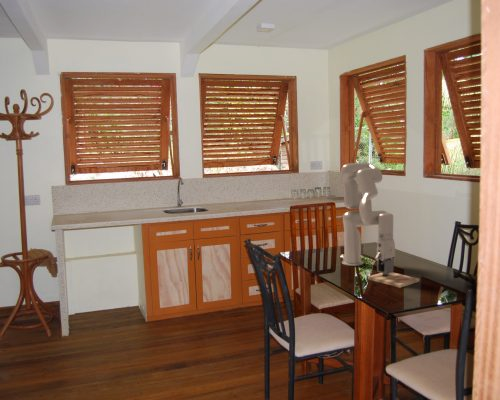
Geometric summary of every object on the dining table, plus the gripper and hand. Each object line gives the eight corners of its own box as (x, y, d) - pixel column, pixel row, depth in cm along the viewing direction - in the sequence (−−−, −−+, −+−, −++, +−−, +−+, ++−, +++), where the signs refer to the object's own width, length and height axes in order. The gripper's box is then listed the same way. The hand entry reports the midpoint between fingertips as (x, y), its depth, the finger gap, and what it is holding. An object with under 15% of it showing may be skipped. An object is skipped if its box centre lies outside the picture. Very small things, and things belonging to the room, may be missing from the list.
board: (367, 279, 255) (368, 267, 254) (387, 273, 265) (387, 262, 264) (400, 287, 239) (400, 274, 238) (419, 281, 249) (419, 269, 248)
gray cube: (386, 274, 251) (386, 261, 251) (376, 271, 256) (377, 259, 255) (393, 271, 255) (393, 259, 254) (384, 269, 260) (384, 257, 259)
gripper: (381, 240, 245) (380, 274, 247) (401, 235, 255) (401, 268, 258) (369, 237, 251) (368, 271, 253) (389, 233, 261) (389, 265, 264)
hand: (385, 269), depth 256 cm, fingers closed on gray cube, 6 cm apart
